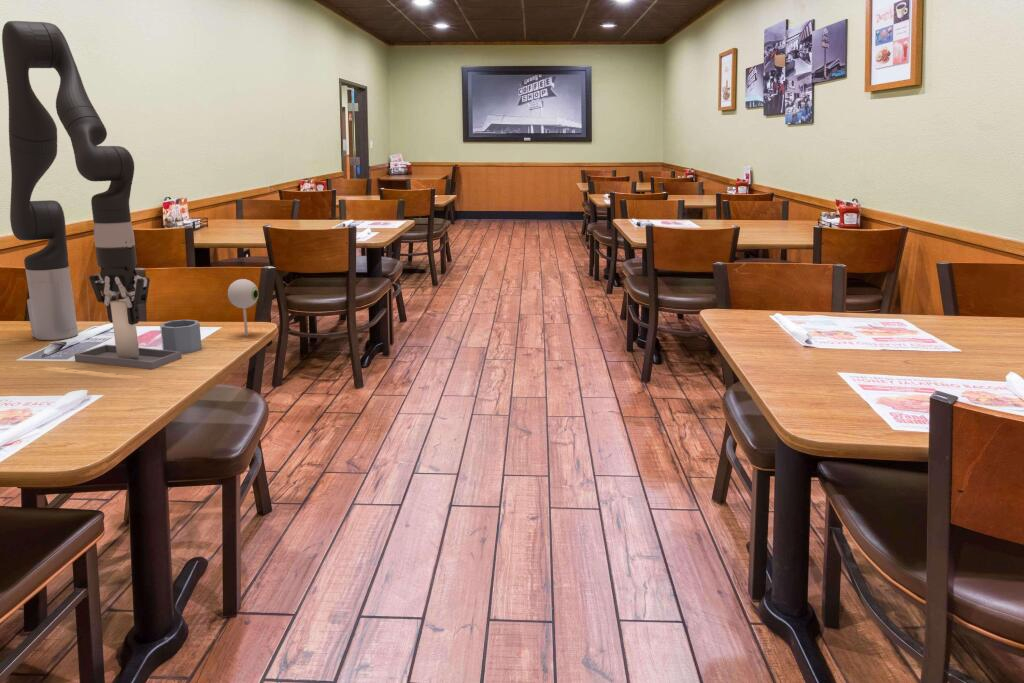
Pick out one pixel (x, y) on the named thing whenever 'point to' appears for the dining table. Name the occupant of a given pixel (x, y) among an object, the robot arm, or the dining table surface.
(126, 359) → the tray
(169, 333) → the grey octagonal collar
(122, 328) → the peg
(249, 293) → the lollipop
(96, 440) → the dining table surface
